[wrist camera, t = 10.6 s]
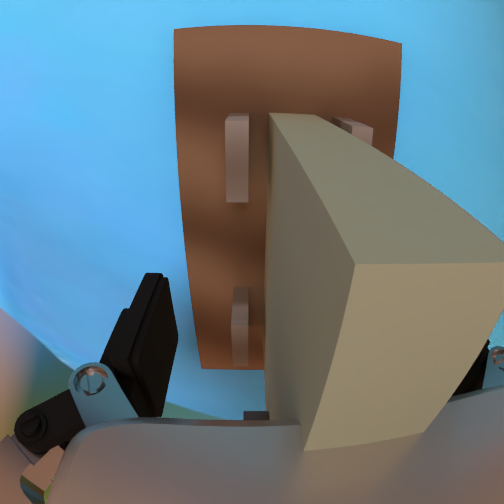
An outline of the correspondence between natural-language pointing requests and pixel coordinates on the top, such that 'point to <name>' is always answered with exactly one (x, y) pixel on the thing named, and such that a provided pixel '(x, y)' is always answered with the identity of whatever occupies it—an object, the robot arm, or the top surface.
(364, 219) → the cabinet door
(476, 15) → the top surface
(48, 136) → the top surface
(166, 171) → the top surface
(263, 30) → the hinge base
